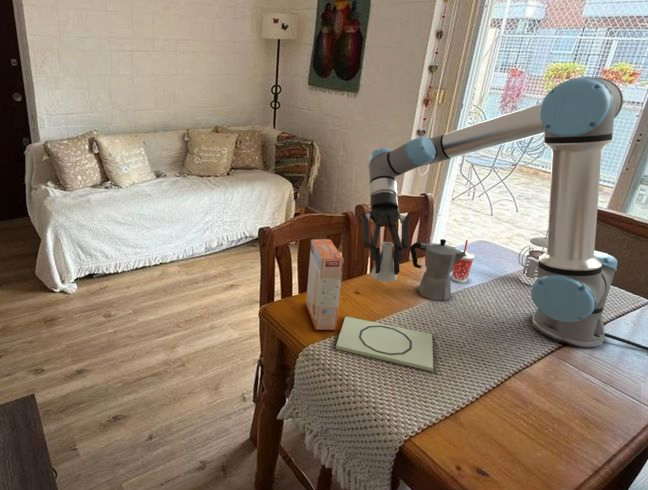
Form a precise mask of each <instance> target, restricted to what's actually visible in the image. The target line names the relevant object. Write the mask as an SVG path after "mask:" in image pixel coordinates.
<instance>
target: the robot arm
mask: <svg viewBox="0 0 648 490" xmlns="http://www.w3.org/2000/svg"><path fill="white" fill-rule="evenodd" d="M623 105H624V94H623V91H622V90H621V88H620V87H619V85H618V84H616V83H615V82H613V81H612V80H609V79H607V78H602V77H591V76H583V77H582V76H581V77H576V78H570V79H568V80H565V81H563V82H561V83H560V84H557V85H556V86H554V87H553V88H552V89H550V90H549V91H548V93H546V95H545V96H544V98H543V99H542V101H541V103H538V104H534V105H532V106H528V107H525V108H522V109H518V110H516V111H513V112H510V113H509V112H508V113H506V114H503V115H500V116H497V117H494V118H490V119H488V120H484V121H480V122H477V123H474V124H472V125H468V126H465V127H463V128H458V129H455V130H452V131H450V132H445V133H444V134H440V135H437V136H433V137H430V138H429V137H427V136H425V135H424V136H423V135H422V136H419V137H416V138H413V139H411V140H409V141H408V142H406V143H404V144H401V146H398V147H397V148H395V149H393V150H392V149H391V148H387V147H381V148H380V149H379V148H377V149H375V150H373V151H372V152H371V153H370V155H369V158H368V173H369V197H370V199H369V200H370V211H369V212H368V213H361V215H360V222H361V224H362V236H363V238H362V239H363V247H364V248H365V249H368V250H369V251H370V259H371V261H373V262H374V266H375V271H376V273H379V272H380V255H381V252H380V247H377V246H378V242H379V237H380V232H381V228H383V227H384V228H388V231H389V233H390V236H391V239H392V243H393V244H394V245H393V247H394V250H393V251H392V259H393V263H394V275H397V276H398V274H399V273H400V271H401V270H400V263H402V262H403V251H407V250H408V248H410V238H409V237H410V236H409V221H410V219H411V216H409V215H403V214H401V212H400V211H399V202H398V190H397V189H398V185H397V177H398V176H399V177H400V176H401V175H404V174H405V173H408V172H410V171H412V170H414V169H417V168H420V167H421V168H422V167H424V166H428V165H431V164H437V163H440V162H443V161H447V160H451V159H453V158H458V157H462V156H465V155H470V154H473V153H476V152H480V151H484V150H488V149H491V148H494V147H499V146H503V145H506V144H510V143H514V142H519V141H522V140H525V139H530V138H533V137H537V136H540V135H544V143H543V144H544V145H545V146H546V147H547V148H549V149H550V150H551V167H550V184H549V185H550V187H549V202H548V206H549V207H548V223H547V224H548V225H547V230H548V233H547V238H548V241H547V248H546V251H545V252H546V253H545V254H543V255H542V256H540V257H539V260H538V262H539V264H538V279H537V280H536V281H535V283H534V284H533V286H531V292H530V294H531V300H532V303H533V304H534V305H535V307H536V308H537V309H536V310H535V312H534V314H533V316H532V319H531V325H532V326H533V327H534V329H535V330H536V331H538V332H539V333H540V334H542V335H543V336H545V337H547V338H549V339H551V340H554V341H556V342H559V343H561V344H563V345H568V346H572V347H577V348H587V349H588V348H597V347H600V346H601V345H603V342H604V340H605V337H606V338H608V339H612V340H614V341H617V342H621V343H623V344H626V345H630V346H633V347H634V348H638V349H641V350H644V351H646V352H648V346H645V345H642V344H639V343H637V342H634V341H632V340H629V339H625V338H622V337H620V336H616V335H613V334H610V333H606V332H605V328H604V318H603V311H604V308H605V305H606V301H607V298H608V296H609V292H610V289H611V285H612V283H613V279H614V276H615V273H616V272H617V271H618V269H617V267H618V260H617V258H616V257H614V256H613V255H610V254H608V253H605V252H602V251H598V250H595V248H596V247H595V245H596V234H597V233H596V232H597V220H598V209H599V208H598V207H599V195H600V194H599V193H600V182H601V181H600V180H601V168H602V167H601V166H602V155H603V153H602V152H603V150H604V148H605V147H606V146H608V145H609V144H610V143H611V142H612V141H613V132H614V121H615V119H616V118H617V117H618V115H619V114H620V112H621V111H622V108H623ZM370 220H371V221H372V222H373V223H374V224H375V226H374V231H373V235H372V240H371V239H370V225H369V222H370ZM398 220H399V223H400V224H401V239H400V236H399V232H398V229H397V223H396V222H397V221H398Z"/></svg>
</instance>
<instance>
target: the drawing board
mask: <svg viewBox="0 0 648 490" xmlns="http://www.w3.org/2000/svg"><path fill="white" fill-rule="evenodd" d="M433 346H434V345H433V334H432V333H429V332H424V331H419V330H414V329H410V328H405V327H399V326H395V325H390V324H386V323H381V322H375V321H371V320H366V319H361V318H356V317H353V316H347V315H345V317H344V320H343V322H342V326H341V328H340V332H339V335H338V338H337V341H336V345H335V349H336V350H340V351H343V352H348V353H353V354H357V355H361V356H365V357H368V358H374V359H377V360H381V361H386V362H389V363H394V364H399V365H401V366H402V365H403V366H407V367H411V368H416V369H420V370H424V371H428V372H433V371H434V349H433V348H434V347H433Z"/></svg>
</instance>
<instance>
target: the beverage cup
mask: <svg viewBox="0 0 648 490" xmlns="http://www.w3.org/2000/svg"><path fill="white" fill-rule="evenodd" d="M468 241H469V240H468V239H466V240H465V243H464V248H463V250H461V251H462V252H464V253H465V254H466V256H464V257H462V258H461V259H460V260H459V261H458V262H457V263H456V264H455V265H454V268H453V271H452V272H451V280H452V281H454V282H457V283H462V284H464V283H467V282H468V280H469V275H470V272H471V268H472V265H473V262H474V260H475V254H473V253H472V252H469V251H467V246H468Z"/></svg>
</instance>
